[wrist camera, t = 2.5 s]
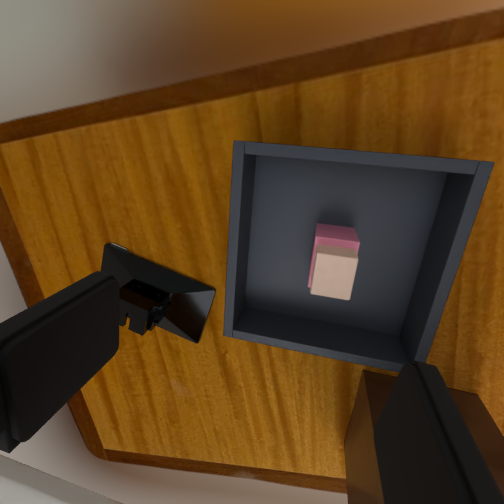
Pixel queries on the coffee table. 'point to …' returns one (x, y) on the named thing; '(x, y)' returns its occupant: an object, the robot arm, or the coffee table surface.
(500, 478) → the stand
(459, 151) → the coffee table surface
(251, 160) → the basin
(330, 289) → the pink block
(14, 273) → the coffee table surface
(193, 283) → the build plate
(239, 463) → the coffee table surface
